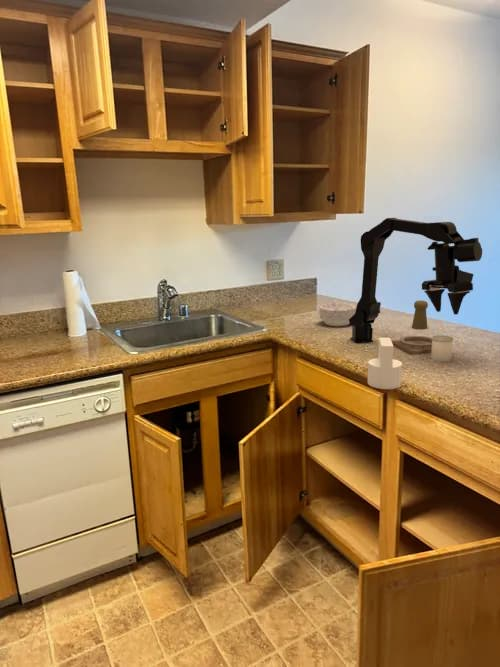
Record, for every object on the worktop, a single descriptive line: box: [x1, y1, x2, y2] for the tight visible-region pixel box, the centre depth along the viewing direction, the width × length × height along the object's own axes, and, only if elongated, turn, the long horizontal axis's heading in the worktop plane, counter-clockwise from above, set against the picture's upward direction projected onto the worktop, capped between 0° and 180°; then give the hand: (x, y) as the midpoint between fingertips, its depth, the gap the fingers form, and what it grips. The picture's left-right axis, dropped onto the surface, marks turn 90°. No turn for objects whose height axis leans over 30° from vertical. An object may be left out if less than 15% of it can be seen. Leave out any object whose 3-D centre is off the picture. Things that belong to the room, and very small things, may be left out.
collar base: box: [391, 335, 432, 355], centre depth 165 cm, size 14×14×2 cm
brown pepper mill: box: [411, 300, 429, 330], centre depth 191 cm, size 6×6×11 cm
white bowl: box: [318, 302, 357, 327], centre depth 202 cm, size 15×15×8 cm
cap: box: [430, 334, 454, 363], centre depth 151 cm, size 6×6×7 cm
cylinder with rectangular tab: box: [367, 337, 403, 390], centre depth 131 cm, size 9×9×12 cm
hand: (447, 312), depth 150 cm, fingers open, 9 cm apart
